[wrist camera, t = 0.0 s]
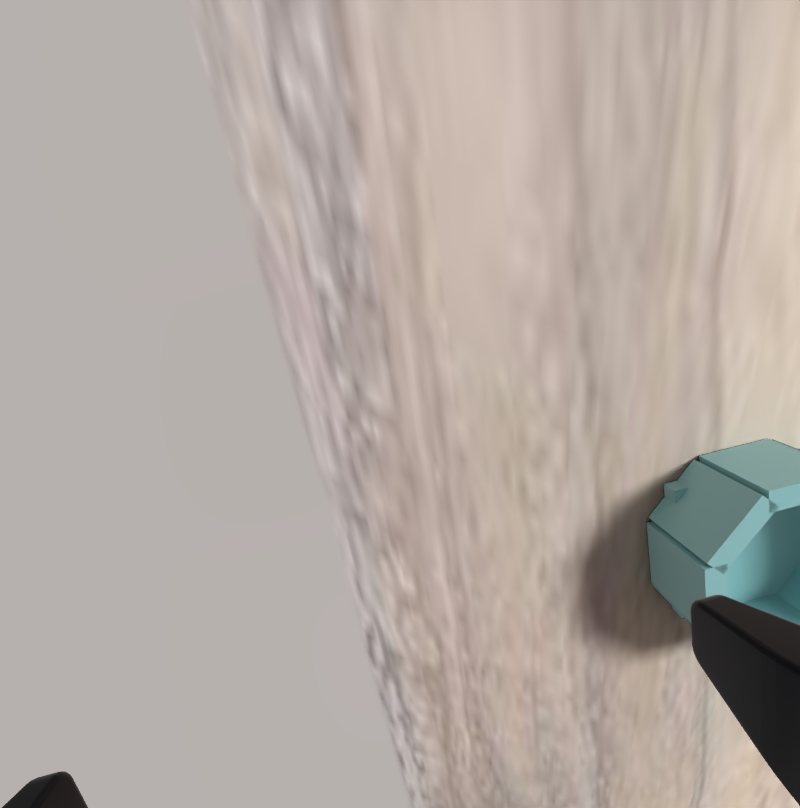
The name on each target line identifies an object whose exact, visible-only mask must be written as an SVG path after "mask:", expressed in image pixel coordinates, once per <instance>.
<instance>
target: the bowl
mask: <svg viewBox="0 0 800 808" xmlns="http://www.w3.org/2000/svg"><path fill="white" fill-rule="evenodd" d="M648 518H650V519H651V520H652V522H648V523H647V535H648V547H649V560H650V573H651V583H652V584H653V585H654V588H655V589H656V590H657V591H658V592H659V593H660V594H661V595H662V596H663V597H664V598H665V599H666V600H667V601H668V602H669V603H670V604H671V605H672V609H673V610H674V611H675V612H676V613H677V614H678V615H679V616H680V617H681V618H682V619H683V618H685V619H686V620H687V621H688V622H689V623H690V624H691V614H690V607H691V604H692V603H693V602H694V601H695V600H698V599H702V598H705V597H709V596H713V595H723V596H726V597H729V598H731V599H734V600H737V601H739V602H742V603H744V604H747V605H750V606H752V607H755V608H757V609H760V610H762V611H765V612H768V613H770V614H773V615H775V616H778V617H780V618H783V619H786V620H788V621H791V622H793V623H796V624H799V625H800V449H796V448H794V447H791V446H789V445H786V444H783V443H781V442H778V441H775V440H773V439H772V440H770V439H763V440H759V441H755V442H751V443H747V444H743V445H739V446H735V447H732V448H728V449H724V450H720V451H716V452H712V453H708V454H704V455H700V456H699V462H698V461H696V460H694V459H693V461H692V462H691V463H690V465H689V466H688V467H687V468H686V470H685V471H684V472H683V474H682V475H681V476H680V477H679V479H678V480H677V481H673V482H669V483H665V484H664V498H663V499H662V500H661V502H660V503H659V504H658V506H657V507H656V508H655V509H654V511H653V512H652V513H651V515H650V516H649V517H648Z"/></svg>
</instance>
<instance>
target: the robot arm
mask: <svg viewBox="0 0 800 808" xmlns="http://www.w3.org/2000/svg"><path fill="white" fill-rule="evenodd" d="M690 614H691V633H692V647H693V651H694V654H695V656H696V658H697V660H698V662H699V664H700V666H701V667H702V668H703V670H704V671H705V673H706V674H707V676H708V677H709V679H710V680H711V682H712V683H713V685H714V686H715V688H716V689H717V690H718V692H719V693H720V695H721V696H722V698H723V699H724V701H725V702H726V704H727V705H728V707H729V708H730V710H731V711H732V712H733V714H734V715H735V717H736V718H737V720H738V721H739V723H740V724H741V726H742V727H743V729H744V730H745V732H746V733H747V734H748V736H749V737H750V739H751V740H752V742H753V743H754V745H755V746H756V748H757V749H758V751H759V752H760V754H761V755H762V756H763V758H764V759H765V761H766V762H767V763H768V765H769V766H770V768H771V769H772V770H773V772H774V773H775V775H776V776H777V777H778V778H779V780H780V781H781V782H782V784H783V785H784V786H785V787H786V789H787V790H788V791H789V793H790V794H791V795H792V796H793V798H794V799H795V800H796V801H797V802H798V804H799V805H800V625H799V624H796V623H793V622H791V621H788V620H786V619H783V618H780V617H778V616H775V615H773V614H770V613H768V612H765V611H762V610H760V609H757V608H755V607H752V606H750V605H747V604H744V603H742V602H739V601H737V600H734V599H731V598H729V597H726V596H723V595H713V596H709V597H705V598H702V599H698V600H695V601H694V602H693V603H692V604H691V607H690ZM2 808H88V807H87V805H86V803H85V801H84V799H83V797H82V795H81V793H80V791H79V789H78V788H77V786H76V784H75V782H74V780H73V778H72V777H71V775H70V774H68V773H66V772H57V773H53V774H50V775H46V776H42V777H38V778H36V779H34V780H32V781H30V782H29V783H28V784H26V785H25V786H24V787H23V788H22V789H21V790H20V791H19V792H18V793H17V794H16V795H15V796H14V797H13V798H12V799H11V800H10V801H9V802H8V803H6V804H5V805H4V806H3V807H2Z"/></svg>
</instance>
